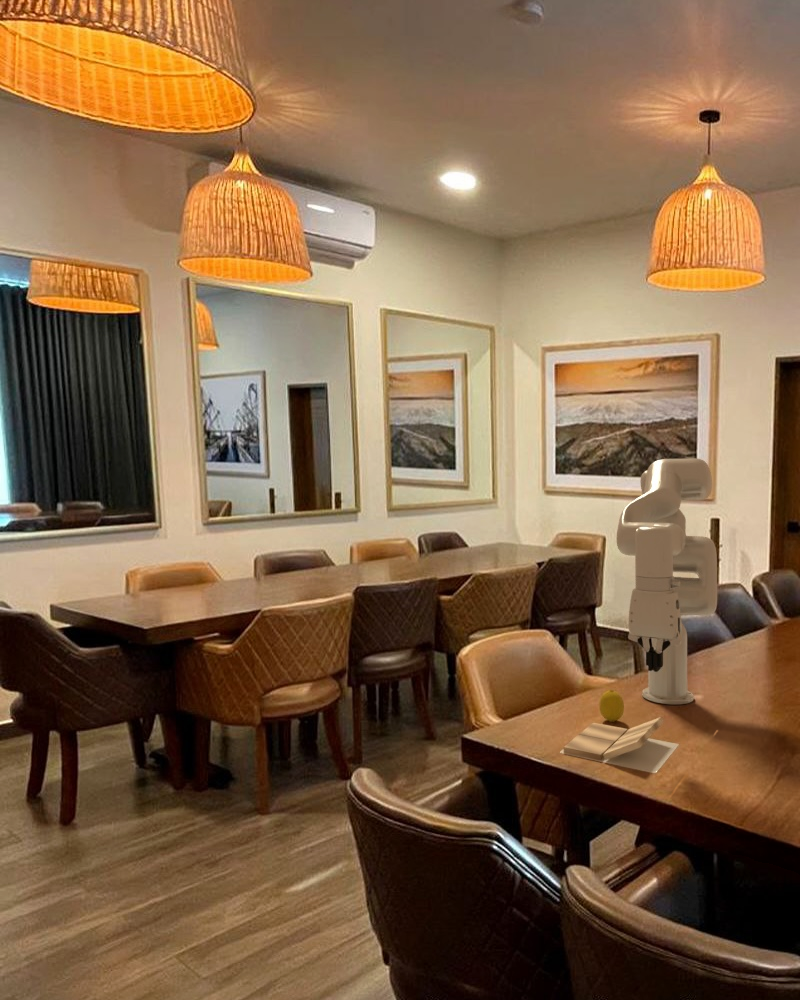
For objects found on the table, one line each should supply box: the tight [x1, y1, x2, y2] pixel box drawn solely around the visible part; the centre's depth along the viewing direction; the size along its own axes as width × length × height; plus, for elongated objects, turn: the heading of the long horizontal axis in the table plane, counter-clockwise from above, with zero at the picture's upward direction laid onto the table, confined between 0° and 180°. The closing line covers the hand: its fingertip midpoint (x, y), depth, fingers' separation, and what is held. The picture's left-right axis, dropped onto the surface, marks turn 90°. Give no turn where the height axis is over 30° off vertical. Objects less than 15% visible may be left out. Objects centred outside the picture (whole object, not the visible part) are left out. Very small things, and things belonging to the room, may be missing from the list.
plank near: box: [603, 729, 653, 760], centre depth 151 cm, size 8×8×1 cm
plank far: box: [617, 716, 665, 741], centre depth 158 cm, size 8×8×1 cm
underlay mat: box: [559, 737, 680, 775], centre depth 156 cm, size 18×20×1 cm
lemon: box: [598, 688, 625, 723], centre depth 173 cm, size 6×6×8 cm
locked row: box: [563, 722, 629, 761], centre depth 159 cm, size 18×8×1 cm, turn 145°
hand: (654, 669), depth 156 cm, fingers closed
